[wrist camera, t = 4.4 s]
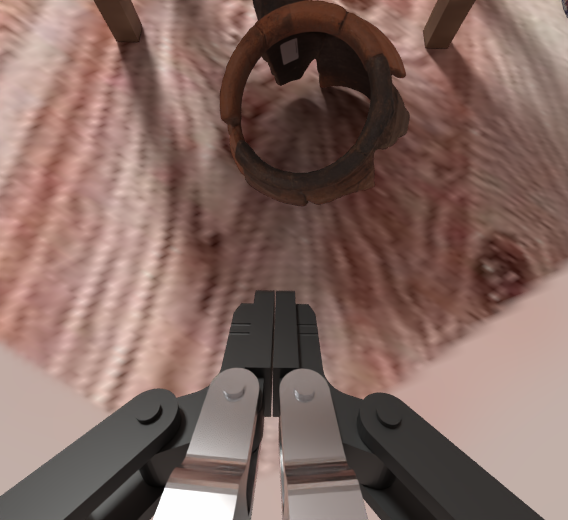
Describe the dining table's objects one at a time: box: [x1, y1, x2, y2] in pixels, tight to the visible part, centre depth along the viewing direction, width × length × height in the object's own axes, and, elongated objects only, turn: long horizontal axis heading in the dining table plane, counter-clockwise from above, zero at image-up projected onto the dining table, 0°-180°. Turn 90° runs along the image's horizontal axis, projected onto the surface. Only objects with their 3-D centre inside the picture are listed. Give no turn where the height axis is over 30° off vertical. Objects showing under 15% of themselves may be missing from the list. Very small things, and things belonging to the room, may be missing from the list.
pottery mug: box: [220, 0, 410, 206], centre depth 15 cm, size 12×9×8 cm
